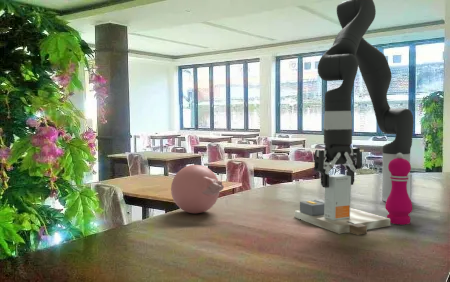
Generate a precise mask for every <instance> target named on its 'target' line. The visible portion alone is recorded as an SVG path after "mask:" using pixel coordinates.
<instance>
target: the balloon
mask: <svg viewBox="0 0 450 282" xmlns="http://www.w3.org/2000/svg"><path fill="white" fill-rule="evenodd" d="M222 190H224V185H223V181H222V180H219V179H218V177H217V175H216V174H215V172H213V171H212V169H210V168H209V167H207V166H204V165H200V164H190V165H187V166H185V167H182V168H181V169H180V170H178V171H177V173H175V175H174V177H173V179H172V182H171V188H170V194H171V198H172V200H173V202H174V204H175V205H176V206H177V207H178V208H179V209H180V210H182V211H184V212H186V213H189V214H201V213H204V212H206V211H208V210H210V209H211V208H213V206H214V205H215V204H216V202H217V201H218V199H219V195H220V192H221V191H222Z"/></svg>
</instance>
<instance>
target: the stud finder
mask: <svg viewBox="0 0 450 282" xmlns="http://www.w3.org/2000/svg"><path fill="white" fill-rule="evenodd" d="M324 201H325V199H321V198H320V199H314V200H312V199H311V200H304V201H299V210H300V212H302V213H305V214H308V215H311V216H315V215H323V214H324Z"/></svg>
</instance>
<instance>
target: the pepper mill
mask: <svg viewBox="0 0 450 282" xmlns="http://www.w3.org/2000/svg"><path fill="white" fill-rule="evenodd" d="M396 157H397V158H396V159H393V160H391V161H390V163H389V165H388V169H389V171H390V172H391V175H390V180H391V181H392V189H391V192H390V195H389V196H388V198H387V201H385V206H384V208H385V210H386V211H387V213H388V214H386V218H389V219H390V224H392V225H393V224H394V225H399V224H400V226H401V225H403V226H404V225H405V224H406V225H410V224H411V216H410V214H411V213H412V212H413V210H414V209H413V202H412V199H411V200H410V198H409V195H408V193H407V181H409V179H408V177H409V176H408V173H409V172H410V173H411V170H412V165H411V162H410V163H409V161H407V160H406V159H403V154H402V153H398V154H397V155H396Z"/></svg>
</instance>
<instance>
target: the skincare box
mask: <svg viewBox="0 0 450 282" xmlns="http://www.w3.org/2000/svg"><path fill="white" fill-rule="evenodd" d="M351 189H352V185H351V176H348V175H346V174H341V173H340V174H331V175H330V174H329V188H325V187H324V200H325V201H324V217H325V218H328V219H331V220H339V219H349V218H350V208H351V193H352V190H351Z"/></svg>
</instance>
